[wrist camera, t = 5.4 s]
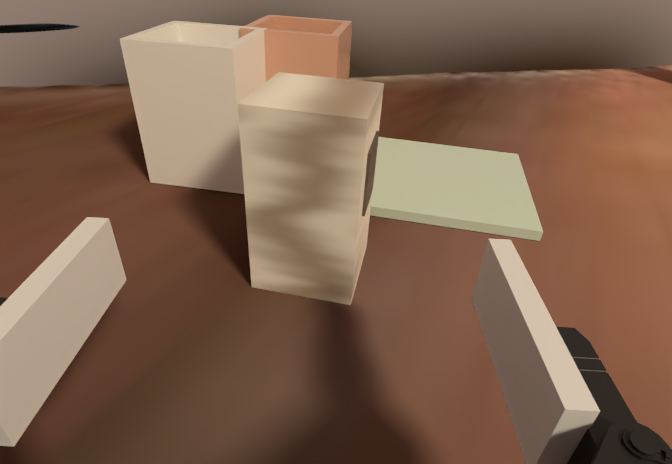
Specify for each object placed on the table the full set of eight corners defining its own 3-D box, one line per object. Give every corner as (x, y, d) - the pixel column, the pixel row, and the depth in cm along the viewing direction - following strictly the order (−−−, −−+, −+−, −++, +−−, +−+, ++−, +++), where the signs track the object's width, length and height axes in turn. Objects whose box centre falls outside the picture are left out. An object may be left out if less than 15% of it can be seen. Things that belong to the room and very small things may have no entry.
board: (348, 212, 34) (349, 203, 33) (374, 143, 45) (374, 136, 45) (539, 240, 32) (543, 231, 31) (515, 161, 43) (517, 154, 43)
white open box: (150, 182, 36) (119, 38, 30) (192, 144, 43) (173, 20, 37) (243, 194, 35) (232, 48, 29) (272, 153, 42) (267, 28, 36)
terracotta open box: (248, 155, 41) (239, 28, 35) (272, 126, 48) (268, 14, 42) (332, 165, 40) (338, 36, 34) (344, 134, 47) (352, 21, 41)
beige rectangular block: (251, 287, 26) (237, 103, 20) (283, 231, 31) (279, 71, 25) (353, 305, 25) (370, 119, 19) (368, 245, 30) (386, 82, 24)
